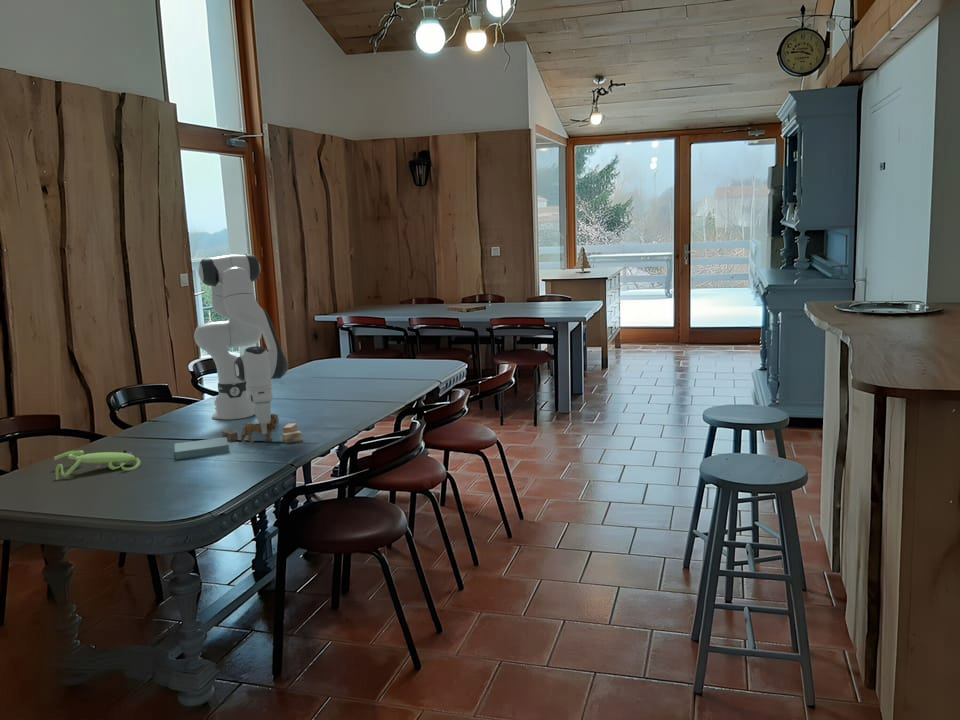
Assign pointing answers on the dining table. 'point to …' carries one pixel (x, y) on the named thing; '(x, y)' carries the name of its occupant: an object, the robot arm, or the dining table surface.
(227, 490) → the dining table surface
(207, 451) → the teal slab
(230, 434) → the walnut brick
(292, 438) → the oak brick
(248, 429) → the lion figurine
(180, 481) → the dining table surface
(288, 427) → the terracotta brick
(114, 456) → the figurine
